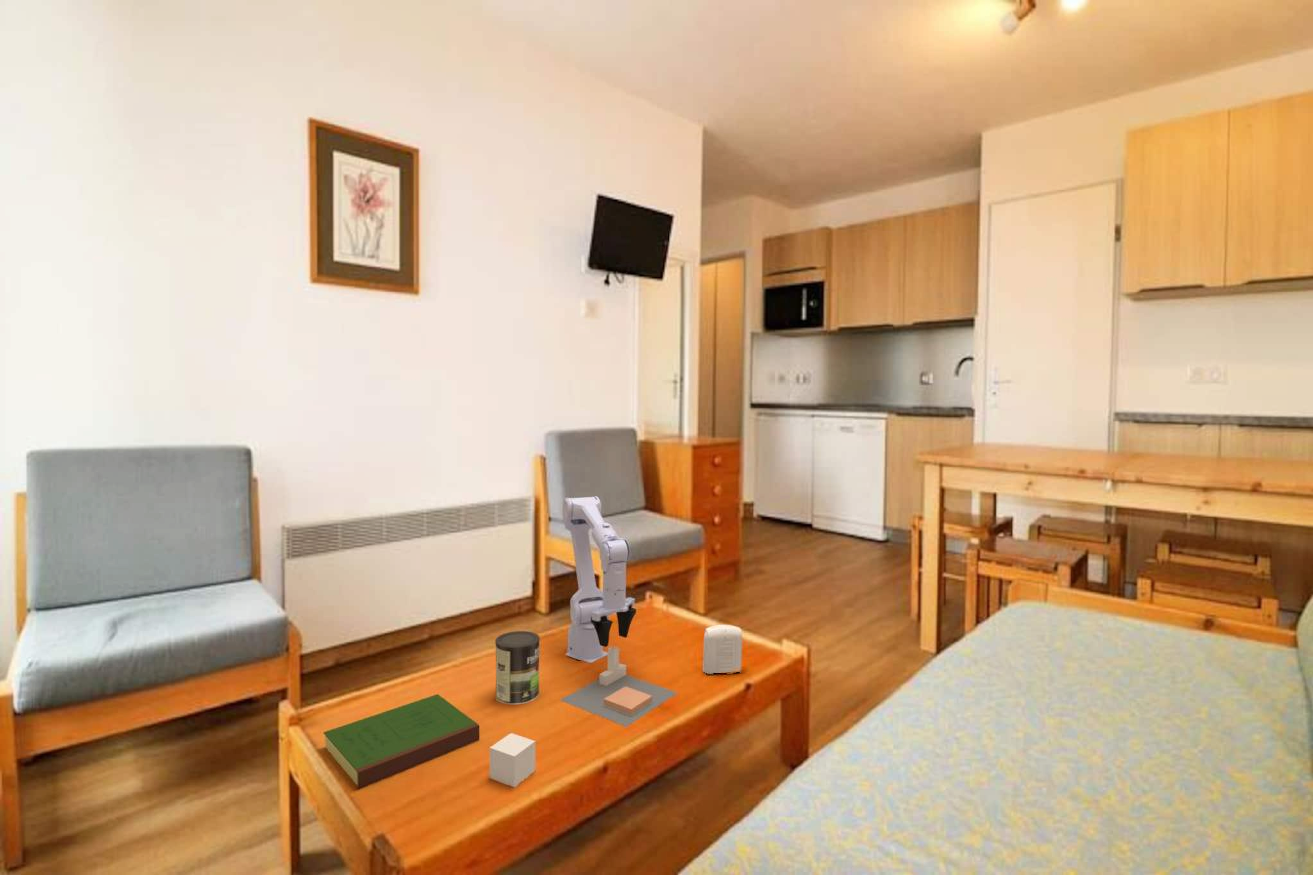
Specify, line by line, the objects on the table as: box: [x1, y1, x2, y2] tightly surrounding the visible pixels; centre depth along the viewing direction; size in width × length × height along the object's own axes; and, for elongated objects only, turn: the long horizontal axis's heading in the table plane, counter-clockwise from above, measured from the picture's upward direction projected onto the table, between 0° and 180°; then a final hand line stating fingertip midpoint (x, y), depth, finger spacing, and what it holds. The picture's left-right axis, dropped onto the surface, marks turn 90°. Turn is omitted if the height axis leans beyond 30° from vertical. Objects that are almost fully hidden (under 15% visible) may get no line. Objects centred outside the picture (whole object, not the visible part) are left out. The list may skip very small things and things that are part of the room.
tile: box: [604, 686, 652, 716], centre depth 148 cm, size 2×8×8 cm
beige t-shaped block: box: [599, 646, 627, 686], centre depth 161 cm, size 2×8×8 cm, turn 144°
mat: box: [559, 674, 678, 728], centre depth 152 cm, size 20×20×1 cm
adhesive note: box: [489, 733, 536, 788], centre depth 121 cm, size 6×6×6 cm
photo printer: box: [702, 624, 743, 675], centre depth 167 cm, size 10×4×12 cm, turn 98°
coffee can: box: [494, 630, 541, 705], centre depth 152 cm, size 10×10×14 cm
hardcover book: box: [323, 693, 480, 790], centre depth 131 cm, size 25×19×4 cm
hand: (613, 640), depth 160 cm, fingers open, 7 cm apart
